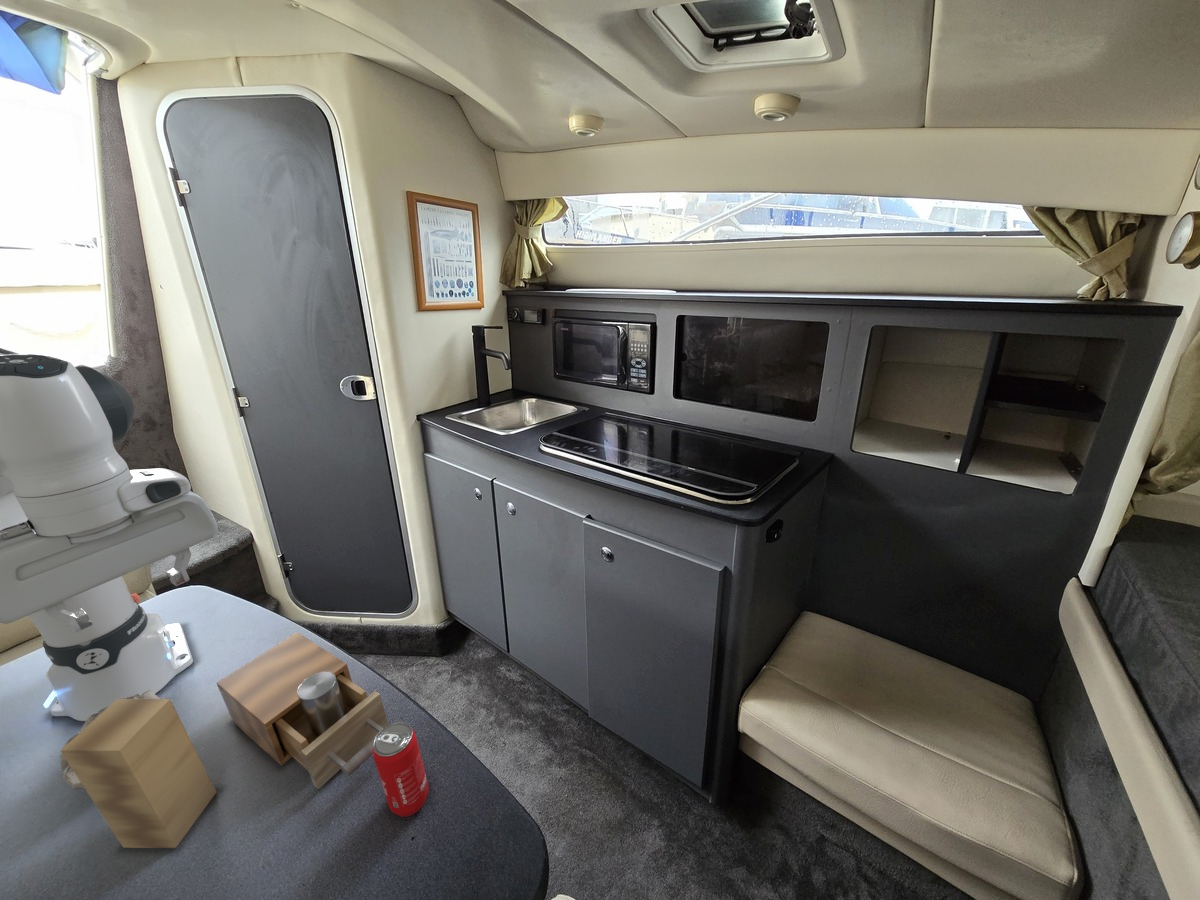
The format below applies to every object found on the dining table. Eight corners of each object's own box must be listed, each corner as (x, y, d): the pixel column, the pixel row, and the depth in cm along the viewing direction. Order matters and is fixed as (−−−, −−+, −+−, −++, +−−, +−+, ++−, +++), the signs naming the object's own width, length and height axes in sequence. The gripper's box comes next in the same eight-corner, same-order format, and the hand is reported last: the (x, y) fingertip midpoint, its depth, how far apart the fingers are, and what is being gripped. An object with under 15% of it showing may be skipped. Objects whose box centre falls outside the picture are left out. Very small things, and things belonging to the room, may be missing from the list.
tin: (312, 730, 76) (295, 681, 72) (348, 713, 78) (333, 666, 74) (316, 755, 72) (298, 705, 68) (353, 737, 74) (338, 687, 71)
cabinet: (358, 702, 82) (346, 663, 79) (281, 766, 73) (264, 724, 69) (309, 668, 90) (297, 631, 86) (233, 722, 80) (215, 682, 77)
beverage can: (417, 823, 65) (399, 761, 60) (381, 816, 66) (362, 754, 61) (436, 784, 69) (422, 723, 65) (403, 778, 70) (386, 717, 66)
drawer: (409, 740, 75) (401, 707, 72) (339, 808, 66) (327, 774, 63) (338, 690, 84) (328, 659, 81) (267, 744, 75) (254, 711, 72)
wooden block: (123, 847, 63) (60, 750, 56) (168, 792, 70) (117, 698, 63) (175, 848, 63) (119, 750, 56) (216, 792, 69) (170, 698, 63)
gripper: (-56, 558, 45) (17, 673, 50) (203, 473, 61) (238, 567, 66) (-69, 540, 48) (2, 650, 53) (181, 464, 64) (216, 554, 69)
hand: (134, 603), depth 60 cm, fingers open, 8 cm apart
